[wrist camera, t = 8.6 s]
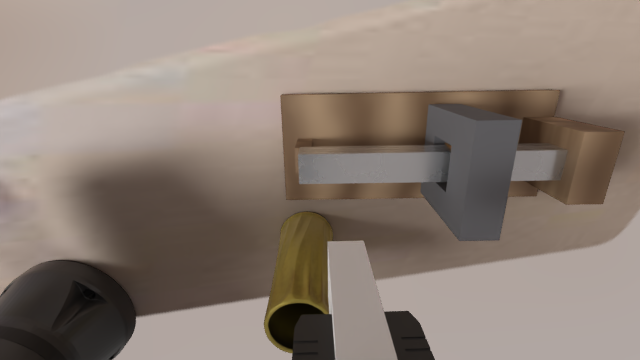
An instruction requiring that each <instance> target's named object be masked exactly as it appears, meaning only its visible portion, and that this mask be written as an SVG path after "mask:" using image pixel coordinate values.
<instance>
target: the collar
mask: <svg viewBox="0 0 640 360" xmlns="http://www.w3.org/2000/svg"><path fill="white" fill-rule="evenodd" d="M521 124H522V120H521V119H517V118H513V117H509V116H505V115H501V114H497V113H494V112H490V111H486V110H482V109H478V108H474V107H471V106H467V105H463V104H429V105H428V115H427V126H426V137H425V145H445V143H448V144H450V145H451V155H450V163H449V171H448V179H447V182H421V190H420V192H421V193H422V195H423V196H424V197H425V198H426V200H427V201H428V202H429V204H430V205H431V206H432V207H433V209H434V210H435V211H436V212H437V214H438V215H439V216H440V217H441V219H442V220H443V221H444V222H445V224H446V225H447V226H448V227H449V229H450V230H451V231H452V232H453V234H454V235H455V236H456V237H457V239H458V240H459V241H483V240H499V239H500V234H501V228H502V223H503V218H504V213H505V208H506V202H507V197H508V192H509V187H510V182H511V176H512V171H513V166H514V161H515V155H516V150H517V145H518V140H519V135H520V129H521Z"/></svg>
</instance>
